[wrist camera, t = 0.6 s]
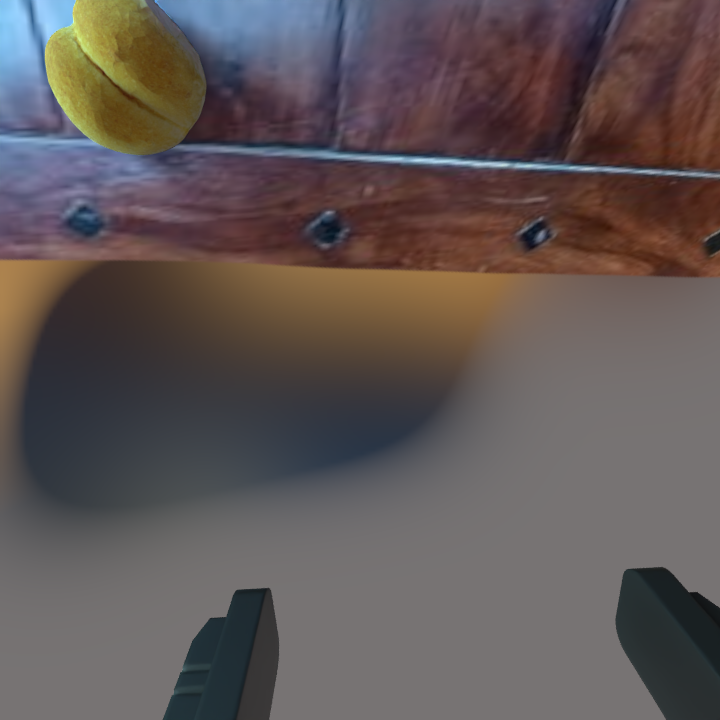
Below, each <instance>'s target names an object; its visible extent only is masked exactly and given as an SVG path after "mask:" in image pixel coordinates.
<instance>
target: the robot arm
mask: <svg viewBox="0 0 720 720" xmlns="http://www.w3.org/2000/svg"><path fill="white" fill-rule="evenodd" d="M616 629H617V634H618V637H619V640H620V643H621V645H622V647H623V650H624V651H625V653H626V655H627V656H628V658H629V660H630V661H631V663H632V665H633V666H634V667H635V669H636V671H637V672H638V674H639V676H640V677H641V679H642V681H643V682H644V684H645V685H646V687H647V689H648V690H649V692H650V694H651V695H652V697H653V699H654V700H655V702H656V703H657V705H658V707H659V708H660V710H661V712H662V713H663V715H664V716H665V718H666V720H720V608H719V607H718V606H716V605H715V604H713V603H712V602H710V601H709V600H708V599H706V598H705V597H703V596H702V595H700V594H699V593H698V592H690V593H689V592H688V591H687V590H686V589H685V588H684V587H683V586H682V584H681V583H680V582H679V581H678V580H677V579H676V577H675V576H674V575H673V574H672V573H671V572H670V571H668V570H667V569H666V568H663V567H654V568H637V569H627V570H626V571H625V572H624V574H623V579H622V585H621V591H620V597H619V602H618V608H617V614H616ZM278 659H279V638H278V631H277V624H276V618H275V612H274V606H273V600H272V594H271V590H270V589H269V588H261V589H244V590H236V591H235V593H234V595H233V598H232V601H231V604H230V607H229V610H228V614H227V617H222V618H221V617H220V618H210V619H209V620H208V622H207V623H206V624H205V625H204V627H203V628H202V629H201V631H200V632H199V633H198V634H197V636H196V637H195V638H194V640H193V641H192V644H191V646H190V649H189V652H188V654H187V657H186V660H185V662H184V665H183V671H182V672H181V673H180V675H179V678H178V681H177V684H176V686H175V689H174V695H172V697H171V699H170V702H169V705H168V707H167V710H166V713H165V715H164V718H163V720H269V717H270V710H271V705H272V698H273V693H274V687H275V681H276V675H277V669H278Z"/></svg>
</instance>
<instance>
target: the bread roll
mask: <svg viewBox="0 0 720 720" xmlns="http://www.w3.org/2000/svg"><path fill="white" fill-rule="evenodd" d="M73 20H74V23H73V24H72V25H71V26H69V27H64V28H62V29H59V30H58V31H56V32H55V33H54V34H53V35H52V36H51V37H50V39H49V41H48V43H47V45H46V49H45V64H46V70H47V76H48V81H49V84H50V86H51V88H52V91H53V93H54V95H55V97H56V98H57V100H58V102H59V104H60V105H61V107H62V109H63V110H64V112H65V113H66V114H67V116H68V117H69V118H70V120H71V121H72V122H73V123H74V124H75V125H76V127H77V128H78V129H79V130H80V131H81V132H82V133H84V134H85V135H86V136H87V137H89V138H90V139H91V140H93V141H94V142H96V143H98V144H100V145H102V146H104V147H106V148H109V149H111V150H114V151H117V152H122V153H127V154H134V155H149V154H155V153H159V152H162V151H166V150H168V149H170V148H173V147H174V146H176V145H177V144H179V143H180V142H181V141H182V140H183V139H184V138H185V136H186V135H187V133H188V132H189V130H190V129H191V128H192V127H193V125H194V124H195V122H196V121H197V120H198V118H199V116H200V114H201V111H202V108H203V105H204V102H205V94H206V88H207V86H206V78H205V74H204V71H203V67H202V65H201V62H200V57H199V55H198V53H197V52H196V50H195V49H194V47H193V46H192V45H191V43H190V42H189V41H188V39H187V38H186V37H185V35H184V34H183V32H182V31H181V30H180V29H179V27H178V26H177V25H176V24H175V23H174V22H173V21H172V20H171V19H170V18H169V16H168V15H167V14H166V13H165V12H164V11H163V10H162V9H161V8H160V7H159V6H158V5H157V4H156V3H155V2H154V1H153V0H76V3H75V5H74V7H73Z"/></svg>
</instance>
